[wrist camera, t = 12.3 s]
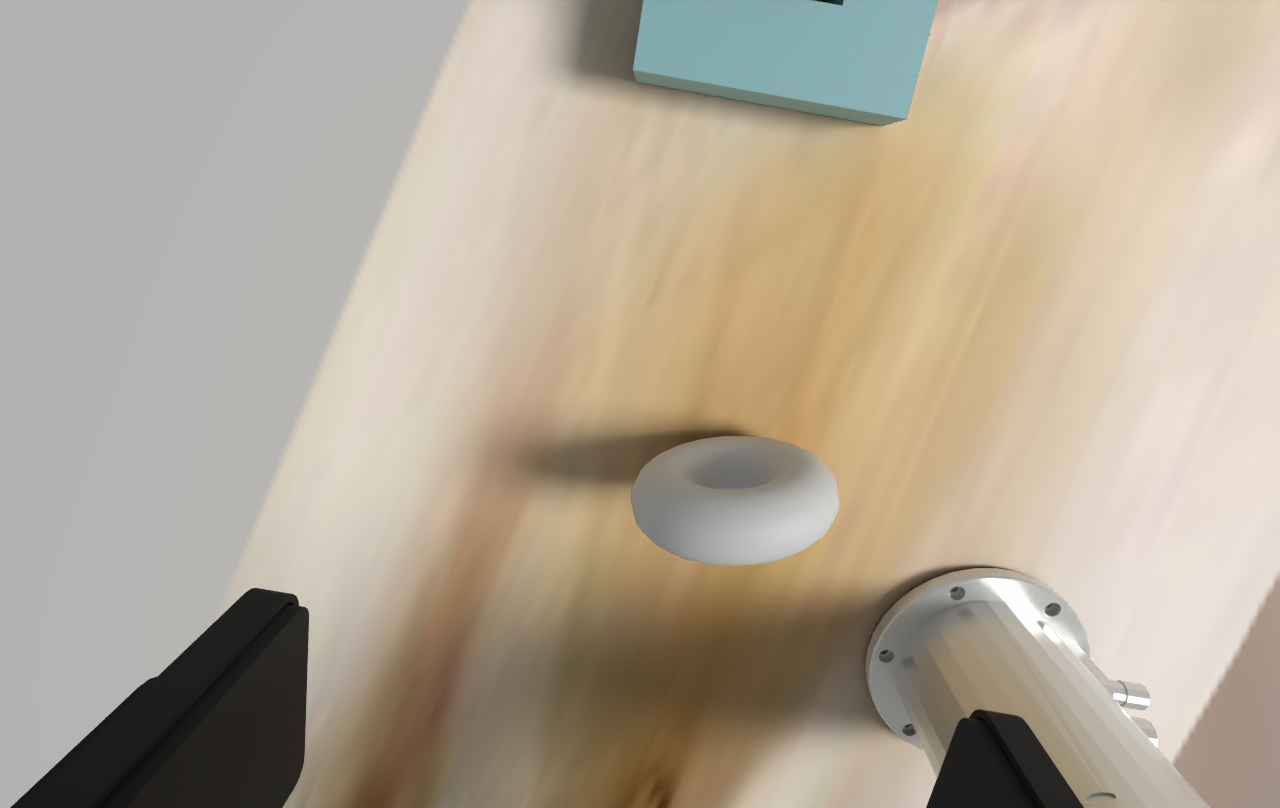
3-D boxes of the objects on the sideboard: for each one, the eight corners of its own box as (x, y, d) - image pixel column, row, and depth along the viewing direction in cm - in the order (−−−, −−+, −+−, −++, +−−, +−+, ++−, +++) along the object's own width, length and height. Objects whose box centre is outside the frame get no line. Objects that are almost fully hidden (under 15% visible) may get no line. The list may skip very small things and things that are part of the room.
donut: (637, 490, 40) (628, 586, 30) (632, 433, 39) (621, 513, 29) (816, 480, 39) (864, 574, 30) (815, 421, 38) (865, 499, 28)
